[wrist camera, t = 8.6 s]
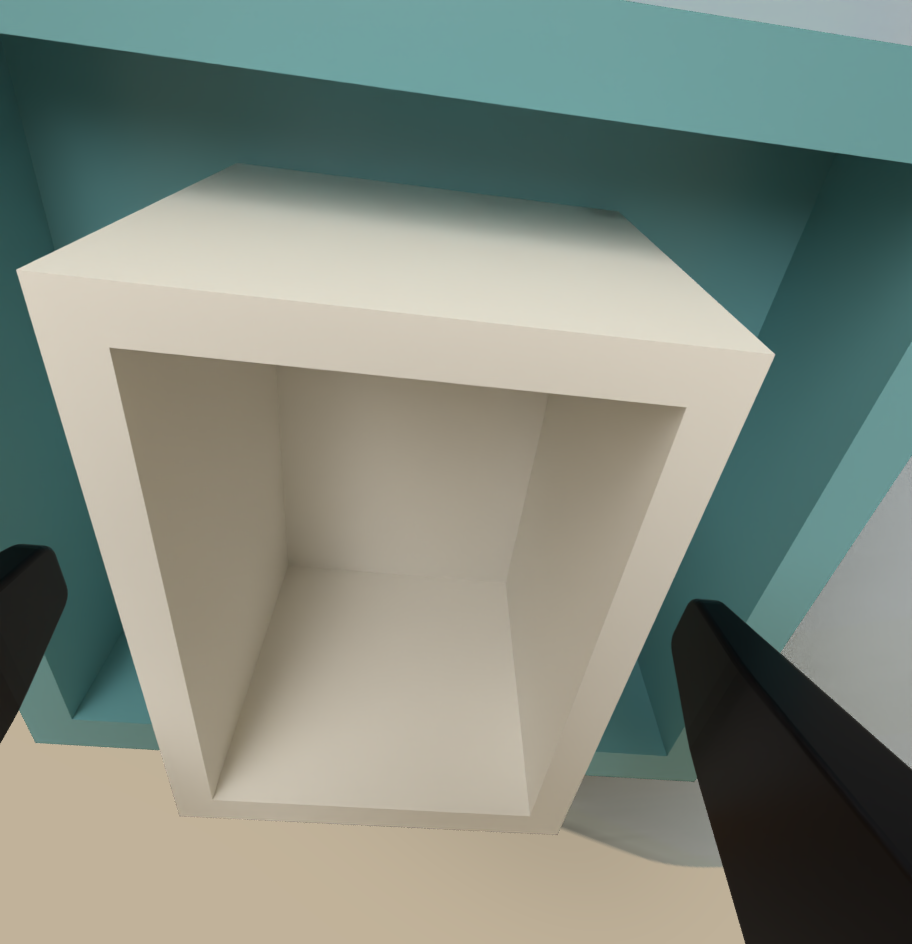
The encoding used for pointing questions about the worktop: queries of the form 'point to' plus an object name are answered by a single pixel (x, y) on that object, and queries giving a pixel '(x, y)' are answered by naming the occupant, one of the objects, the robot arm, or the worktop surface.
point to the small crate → (386, 483)
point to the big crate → (506, 175)
